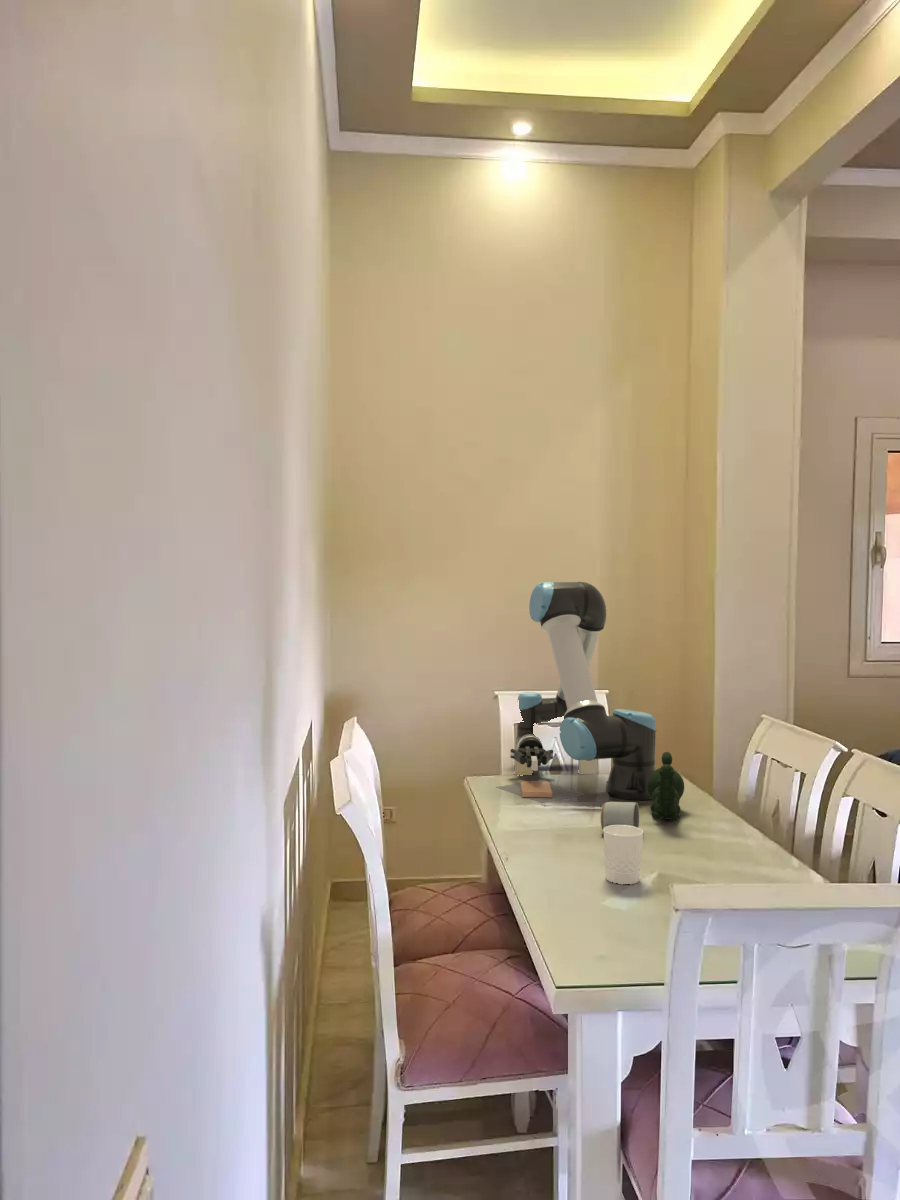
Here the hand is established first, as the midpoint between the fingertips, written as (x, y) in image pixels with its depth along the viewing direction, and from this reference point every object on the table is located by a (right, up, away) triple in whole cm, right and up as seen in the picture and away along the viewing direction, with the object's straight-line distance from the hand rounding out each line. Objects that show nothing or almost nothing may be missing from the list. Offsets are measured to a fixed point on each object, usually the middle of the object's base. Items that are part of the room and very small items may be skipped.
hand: (535, 765), depth 249 cm
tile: (0, -6, +5) cm, 8 cm away
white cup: (+11, -11, -68) cm, 69 cm away
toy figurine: (+31, -9, -20) cm, 38 cm away
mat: (+2, -8, +1) cm, 8 cm away
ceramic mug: (+16, -10, -37) cm, 42 cm away
